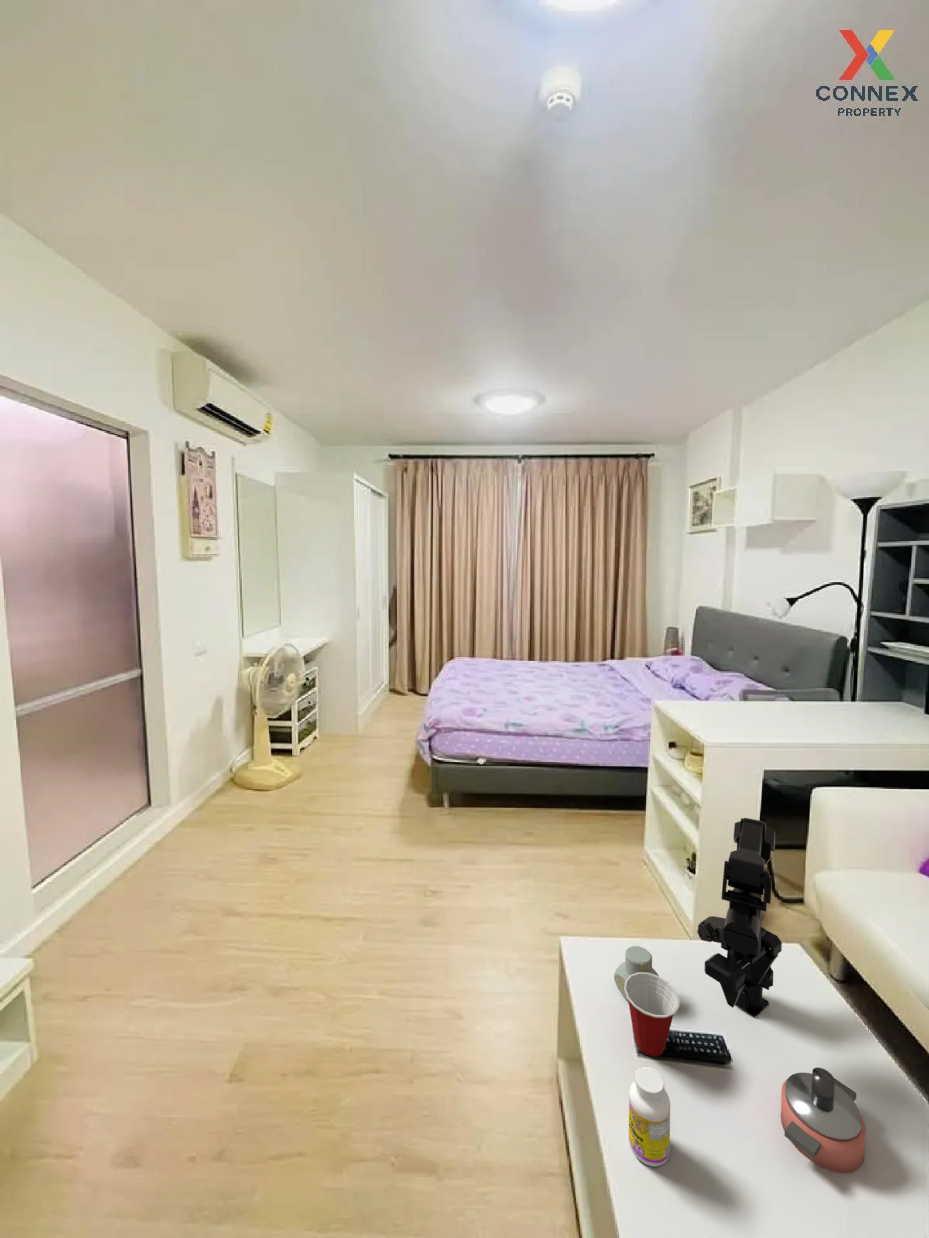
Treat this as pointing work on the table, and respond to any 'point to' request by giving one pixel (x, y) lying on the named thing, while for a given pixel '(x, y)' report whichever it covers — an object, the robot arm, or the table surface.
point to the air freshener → (633, 966)
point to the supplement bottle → (649, 1117)
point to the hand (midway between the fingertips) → (743, 994)
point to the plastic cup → (651, 1010)
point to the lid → (823, 1105)
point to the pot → (823, 1140)
